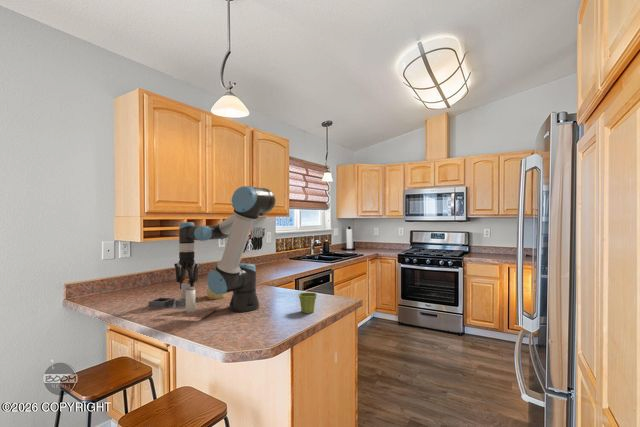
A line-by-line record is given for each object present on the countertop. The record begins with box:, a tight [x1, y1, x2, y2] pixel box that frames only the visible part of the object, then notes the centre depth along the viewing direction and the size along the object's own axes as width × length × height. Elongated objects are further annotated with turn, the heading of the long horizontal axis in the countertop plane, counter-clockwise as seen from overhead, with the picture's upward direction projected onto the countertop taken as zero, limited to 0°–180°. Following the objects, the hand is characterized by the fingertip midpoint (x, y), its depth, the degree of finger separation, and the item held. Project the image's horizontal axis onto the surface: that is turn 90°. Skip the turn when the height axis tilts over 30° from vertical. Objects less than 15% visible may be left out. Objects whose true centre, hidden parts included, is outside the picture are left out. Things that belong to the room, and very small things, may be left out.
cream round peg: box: [185, 286, 196, 313], centre depth 156 cm, size 4×4×13 cm
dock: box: [147, 296, 199, 310], centre depth 167 cm, size 20×14×4 cm
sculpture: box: [206, 285, 229, 300], centre depth 183 cm, size 12×12×11 cm
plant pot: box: [297, 291, 318, 314], centre depth 159 cm, size 9×9×9 cm
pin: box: [181, 278, 190, 300], centre depth 169 cm, size 4×4×12 cm
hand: (187, 295), depth 169 cm, fingers closed on pin, 3 cm apart
